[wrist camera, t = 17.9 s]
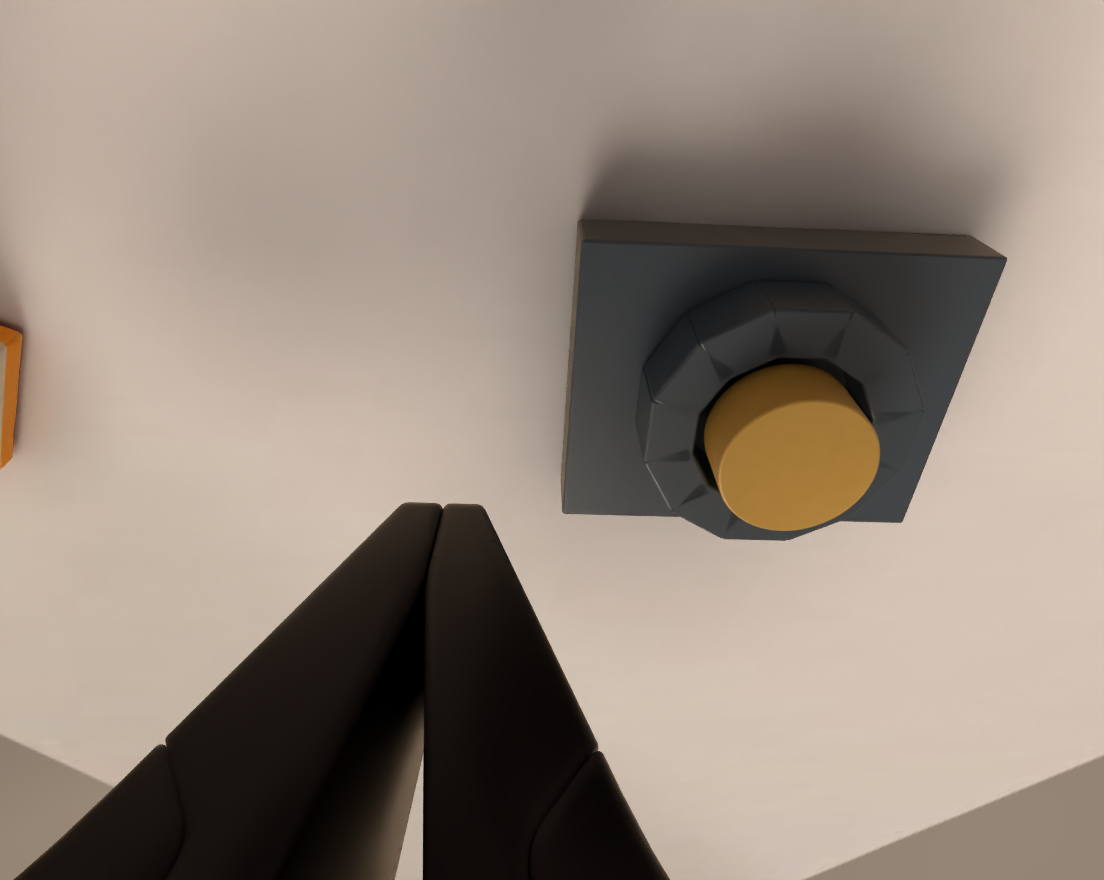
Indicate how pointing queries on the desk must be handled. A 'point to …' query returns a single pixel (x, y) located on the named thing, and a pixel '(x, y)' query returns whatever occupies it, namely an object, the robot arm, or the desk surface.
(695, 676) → the desk surface
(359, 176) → the desk surface
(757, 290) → the switch block
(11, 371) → the supplement box
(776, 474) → the button
